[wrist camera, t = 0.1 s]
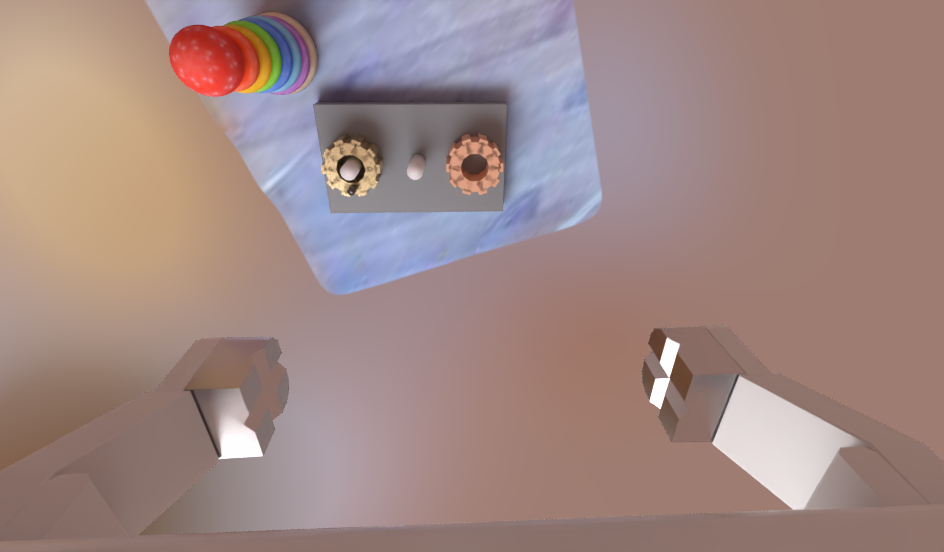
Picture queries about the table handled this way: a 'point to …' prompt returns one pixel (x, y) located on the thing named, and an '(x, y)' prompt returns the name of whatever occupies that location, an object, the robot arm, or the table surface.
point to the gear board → (413, 153)
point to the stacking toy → (245, 56)
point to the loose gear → (484, 177)
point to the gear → (361, 151)
